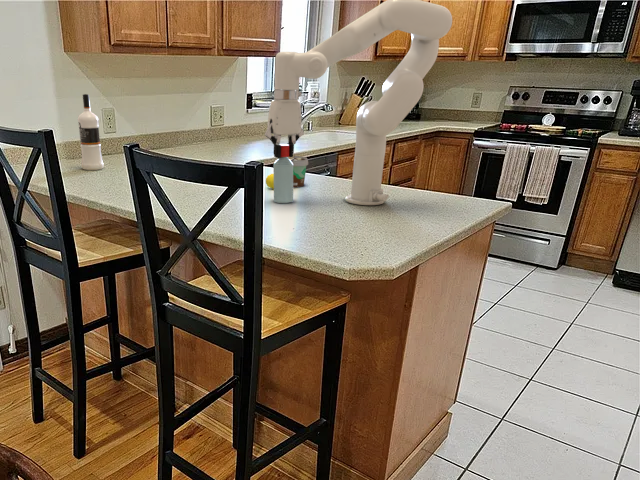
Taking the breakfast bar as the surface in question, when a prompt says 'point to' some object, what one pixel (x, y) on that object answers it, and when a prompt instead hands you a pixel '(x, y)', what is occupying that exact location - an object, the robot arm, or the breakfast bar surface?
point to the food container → (299, 170)
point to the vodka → (89, 138)
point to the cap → (284, 150)
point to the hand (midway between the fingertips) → (283, 156)
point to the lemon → (270, 181)
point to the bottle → (283, 180)
